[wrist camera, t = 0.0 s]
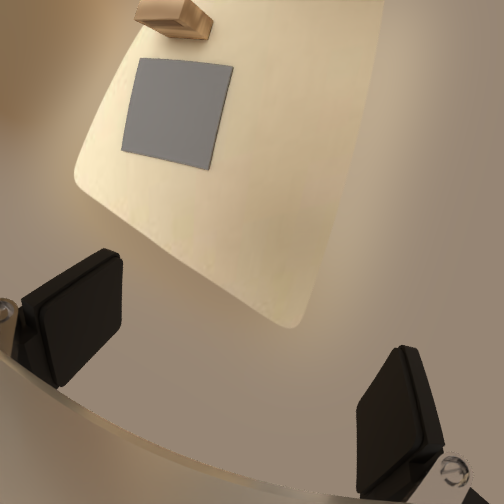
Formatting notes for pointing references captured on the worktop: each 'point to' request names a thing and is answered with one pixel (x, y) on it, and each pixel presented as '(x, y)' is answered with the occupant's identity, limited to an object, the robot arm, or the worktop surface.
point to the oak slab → (174, 18)
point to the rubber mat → (176, 110)
